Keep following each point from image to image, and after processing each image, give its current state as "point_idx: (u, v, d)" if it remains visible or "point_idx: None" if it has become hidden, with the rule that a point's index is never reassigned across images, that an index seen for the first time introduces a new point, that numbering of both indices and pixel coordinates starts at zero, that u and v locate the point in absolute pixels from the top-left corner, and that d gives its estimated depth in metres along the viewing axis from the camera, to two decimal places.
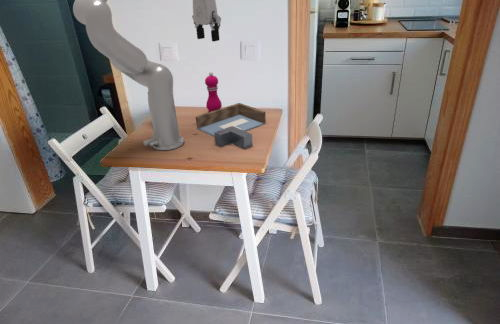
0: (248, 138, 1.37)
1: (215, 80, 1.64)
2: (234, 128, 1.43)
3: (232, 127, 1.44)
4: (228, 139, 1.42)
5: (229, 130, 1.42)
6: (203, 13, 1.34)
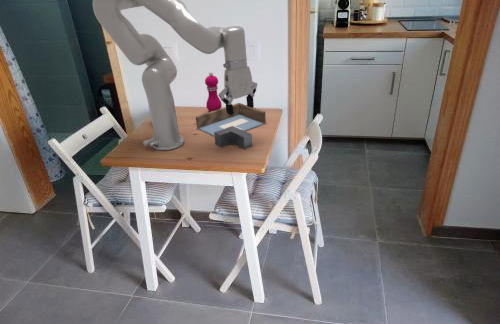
0: (248, 138, 1.37)
1: (215, 80, 1.64)
2: (234, 128, 1.43)
3: (232, 127, 1.44)
4: (228, 139, 1.42)
5: (229, 130, 1.42)
6: (248, 83, 1.30)
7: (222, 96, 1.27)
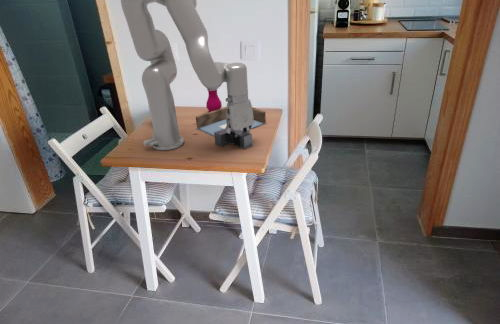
0: (248, 138, 1.37)
1: None
2: None
3: None
4: (228, 139, 1.42)
5: None
6: (249, 116, 1.36)
7: (228, 131, 1.35)
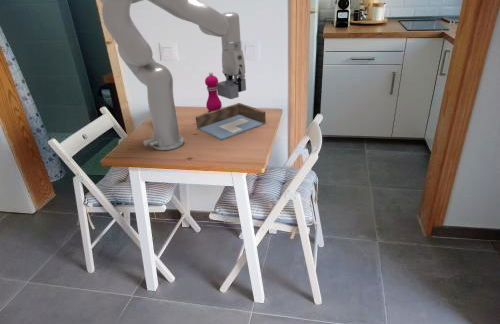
0: None
1: (215, 80, 1.64)
2: (223, 82, 1.49)
3: (220, 82, 1.48)
4: None
5: (226, 83, 1.47)
6: None
7: None
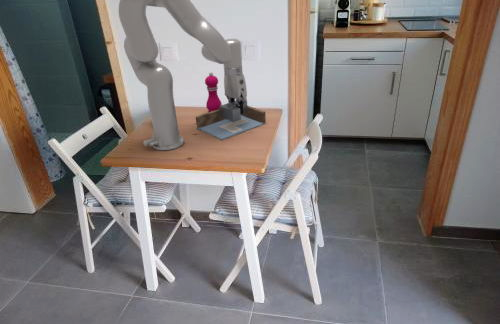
0: None
1: (215, 80, 1.64)
2: (225, 104, 1.54)
3: (223, 105, 1.53)
4: None
5: (229, 106, 1.52)
6: None
7: None
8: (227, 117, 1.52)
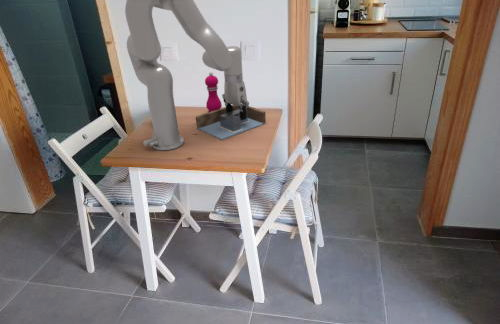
0: None
1: (215, 80, 1.64)
2: (226, 114, 1.56)
3: (223, 115, 1.55)
4: None
5: (229, 115, 1.54)
6: None
7: None
8: (227, 127, 1.53)
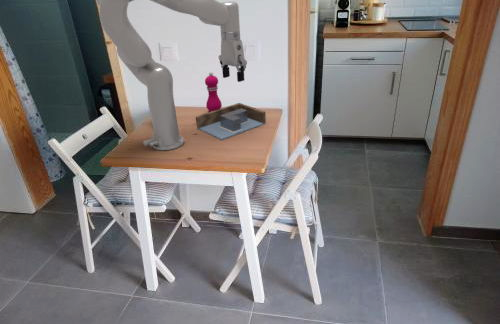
0: None
1: (215, 80, 1.64)
2: (226, 114, 1.56)
3: (223, 115, 1.55)
4: None
5: (229, 115, 1.54)
6: None
7: None
8: (227, 127, 1.53)
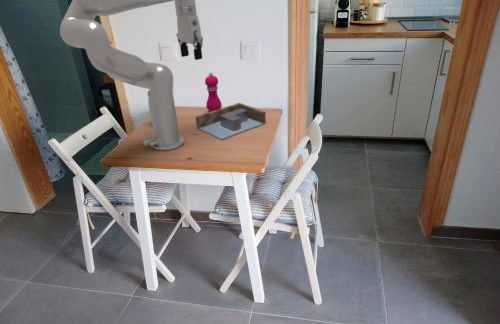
0: None
1: (215, 80, 1.64)
2: (226, 114, 1.56)
3: (223, 115, 1.55)
4: None
5: (229, 115, 1.54)
6: None
7: None
8: (227, 127, 1.53)
